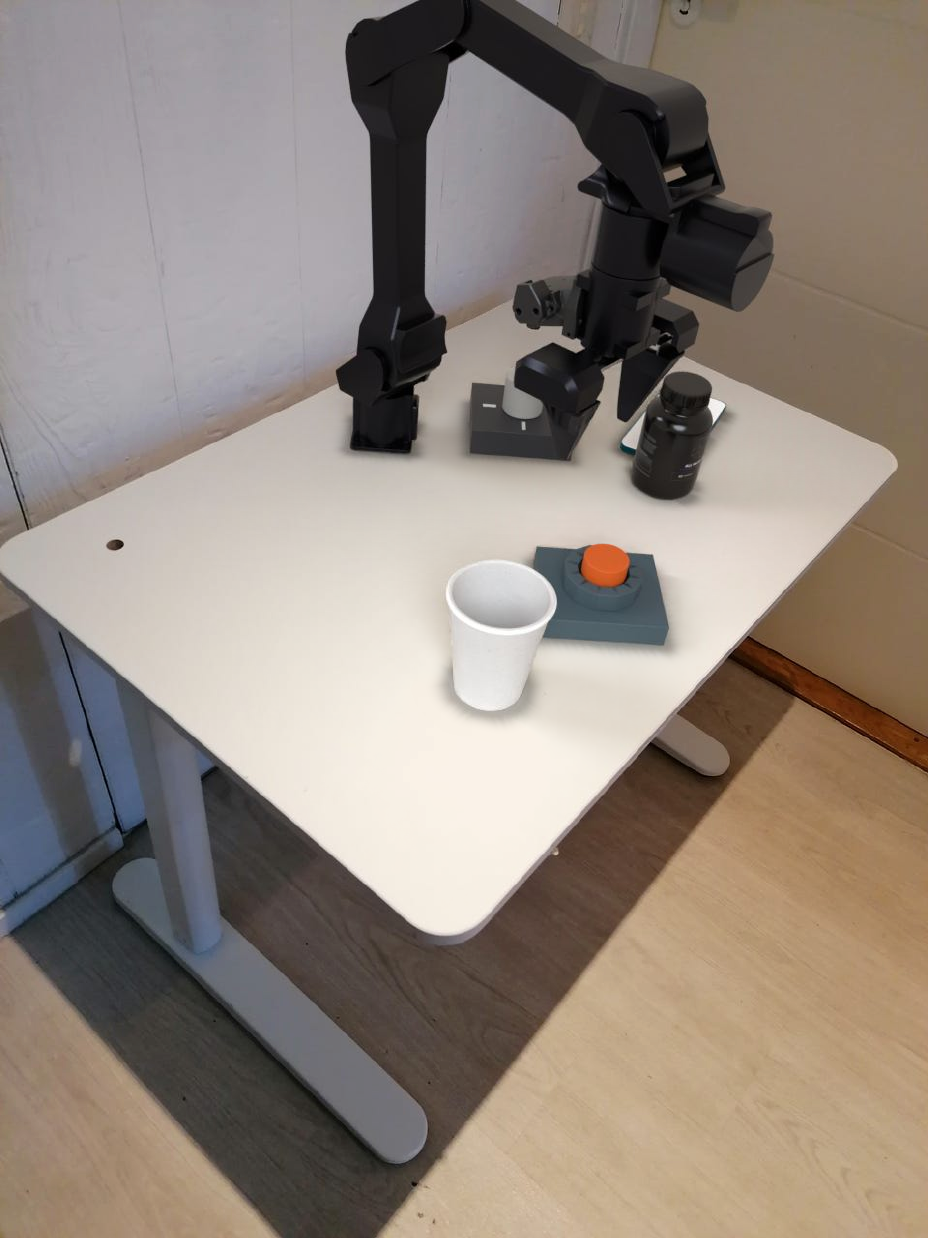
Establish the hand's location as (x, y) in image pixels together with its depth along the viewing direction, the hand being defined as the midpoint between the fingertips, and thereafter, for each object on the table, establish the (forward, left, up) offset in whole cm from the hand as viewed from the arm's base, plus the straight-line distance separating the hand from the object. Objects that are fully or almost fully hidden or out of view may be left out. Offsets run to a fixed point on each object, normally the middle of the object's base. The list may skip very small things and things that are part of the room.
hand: (593, 438), depth 86 cm
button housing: (+2, -8, -12) cm, 15 cm away
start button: (+2, -8, -8) cm, 12 cm away
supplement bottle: (+11, +12, -12) cm, 20 cm away
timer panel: (-4, +20, -12) cm, 24 cm away
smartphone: (+14, +23, -12) cm, 29 cm away
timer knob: (-4, +20, -9) cm, 22 cm away
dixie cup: (-8, -19, -12) cm, 24 cm away
